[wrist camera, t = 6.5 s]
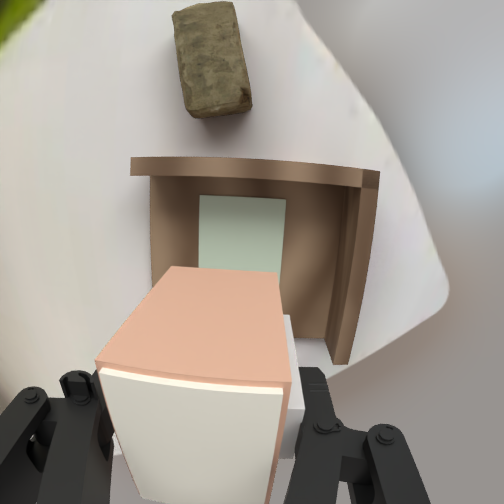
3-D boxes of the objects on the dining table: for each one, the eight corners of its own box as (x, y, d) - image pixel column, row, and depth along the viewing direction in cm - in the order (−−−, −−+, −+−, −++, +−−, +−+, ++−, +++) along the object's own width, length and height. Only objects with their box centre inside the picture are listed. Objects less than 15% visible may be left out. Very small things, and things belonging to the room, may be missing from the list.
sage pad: (198, 293, 32) (198, 294, 32) (200, 194, 29) (199, 195, 29) (277, 299, 32) (277, 299, 32) (286, 199, 29) (286, 199, 29)
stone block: (196, 125, 28) (185, 117, 24) (179, 26, 25) (166, 6, 21) (256, 112, 28) (255, 102, 23) (234, 13, 25) (230, -10, 20)
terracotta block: (171, 266, 15) (90, 364, 7) (277, 272, 15) (293, 388, 7) (178, 381, 17) (138, 498, 9) (266, 389, 17) (267, 515, 9)
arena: (158, 323, 34) (141, 351, 28) (154, 157, 29) (130, 157, 23) (335, 333, 34) (347, 364, 28) (358, 169, 29) (380, 171, 23)
